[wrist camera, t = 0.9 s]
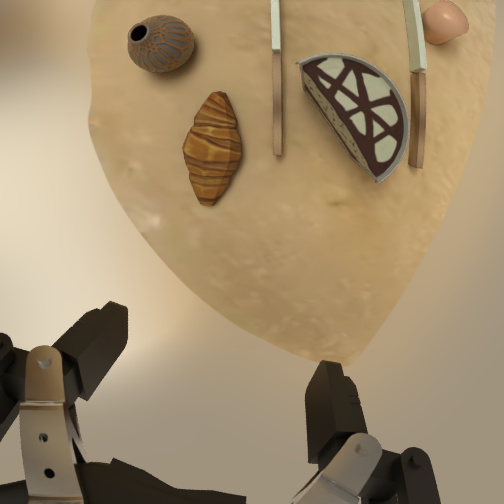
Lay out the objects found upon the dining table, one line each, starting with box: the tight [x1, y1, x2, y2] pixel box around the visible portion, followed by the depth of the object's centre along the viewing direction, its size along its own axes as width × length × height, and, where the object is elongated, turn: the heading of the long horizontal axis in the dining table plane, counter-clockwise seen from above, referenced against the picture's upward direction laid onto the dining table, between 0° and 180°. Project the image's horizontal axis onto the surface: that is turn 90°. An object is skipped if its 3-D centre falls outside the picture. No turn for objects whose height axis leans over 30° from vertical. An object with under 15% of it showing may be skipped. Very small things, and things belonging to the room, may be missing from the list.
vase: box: [128, 15, 194, 73], centre depth 22 cm, size 7×7×9 cm
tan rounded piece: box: [421, 0, 469, 45], centre depth 17 cm, size 4×4×6 cm
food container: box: [296, 53, 409, 184], centre depth 22 cm, size 12×6×10 cm, turn 36°
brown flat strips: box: [273, 54, 426, 169], centre depth 25 cm, size 11×17×2 cm, turn 91°
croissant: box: [182, 91, 242, 206], centre depth 29 cm, size 14×7×5 cm, turn 172°
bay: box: [271, 0, 427, 73], centre depth 20 cm, size 13×17×3 cm
